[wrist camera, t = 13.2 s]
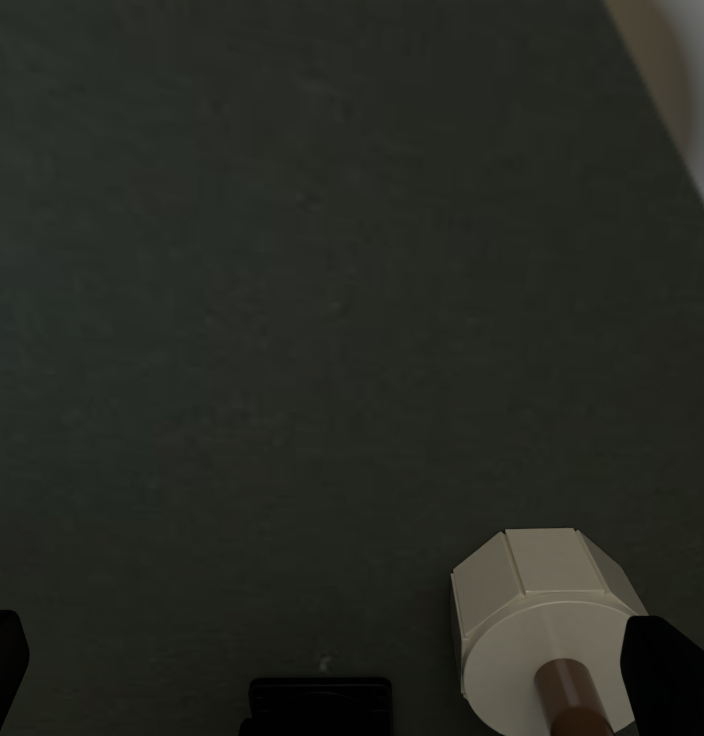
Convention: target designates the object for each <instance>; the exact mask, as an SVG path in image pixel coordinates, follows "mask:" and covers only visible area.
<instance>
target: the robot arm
mask: <svg viewBox="0 0 704 736" xmlns="http://www.w3.org/2000/svg"><path fill="white" fill-rule="evenodd" d="M28 662H29V647H28V644H27V641H26V638H25V634H24V631H23V628H22V625H21V621H20V618H19V616H18V614H17V613H16V612H15V611H12V610H0V730H1V728H2V725H3V723H4V721H5V718H6V716H7V714H8V711H9V709H10V707H11V704H12V702H13V700H14V697H15V695H16V693H17V690H18V688H19V686H20V683H21V681H22V679H23V676H24V674H25V672H26V669H27V666H28ZM620 670H621V675H622V679H623V682H624V685H625V689H626V692H627V695H628V699H629V702H630V705H631V709H632V712H633V715H634V718H635V722H636V725H637V728H638V732H639V735H640V736H704V650H702V649H701V648H700V647H699V646H697V645H696V644H695V643H693V642H692V641H691V640H690V639H688V638H687V637H686V636H685V635H683V634H682V633H681V632H680V631H678V630H677V629H676V628H675V627H673V626H672V625H671V624H669V623H668V622H667V621H666V620H664V619H663V618H661V617H659V616H637V615H635V616H631V617H629V619H628V620H627V623H626V627H625V633H624V638H623V643H622V649H621V654H620ZM379 689H381V690H379ZM248 695H249V701H250V707H251V713H252V718H246V719H245V720H244V721H243V722H242V723H241V726H240V730H239V735H238V736H393V713H392V690H391V683H390V682H389V681H388V680H387V679H385V678H258V679H255V680H253V681H252V682H251V683H250V687H249V692H248Z"/></svg>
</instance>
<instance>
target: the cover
mask: <svg viewBox="0 0 704 736" xmlns="http://www.w3.org/2000/svg"><path fill="white" fill-rule="evenodd" d="M635 615H637V616H649V615H648V613H647V611H646V610H645V608H644V606H643V605H642V603H641V601H640V599H639V598H638V596H637V594H636V592H635V591H634V589H633V587H632V585H631V584H630V582H629V580H628V578H627V577H626V575H625V573H624V571H623V570H622V568H621V567H620V566H619V565H618V564H617V563H616V562H615V561H614V560H612V559H611V558H610V557H609V556H608V555H607V554H605V553H604V552H603V551H602V550H601V549H600V548H599V547H597V546H596V545H595V544H594V543H593V542H592V541H590V540H589V539H588V538H587V537H586V536H585V535H584V534H582V533H581V532H580V531H579V530H577V531H574V529H573V528H545V529H505V534H504V533H502V532H501V531H500V532H499V533H497V534H496V535H495V536H494V537H493V538H491V539H490V540H489V541H488V542H486V543H485V544H484V545H483V546H481V547H480V548H479V549H478V550H476V551H475V552H474V553H473V554H472V555H470V556H469V557H468V558H467V559H465V560H464V561H463V562H462V563H460V564H459V565H458V566H457V567H456V568H454V569H453V573H451V601H450V624H451V631H452V637H453V644H454V651H455V657H456V664H457V670H458V677H459V684H460V690H461V693H462V694H463V697H464V698H465V699H467V700H468V702H469V704H470V706H471V707H472V709H473V710H474V712H475V713H476V714H477V715H478V717H479V718H480V719H481V720H482V721H483V722H484V723H486V724H487V725H488V726H489V727H491V728H492V729H494V730H495V731H497V732H498V733H500V734H502V735H505V736H615V732H617V731H619V730H621V729H622V728H624V727H626V726H627V725H629V724H630V723H631V722H633V721H634V720H635V718H634V715H633V712H632V709H631V705H630V702H629V699H628V695H627V692H626V689H625V685H624V682H623V679H622V675H621V670H620V654H621V649H622V643H623V638H624V633H625V627H626V623H627V620H628V619H629V617H631V616H635Z"/></svg>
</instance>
